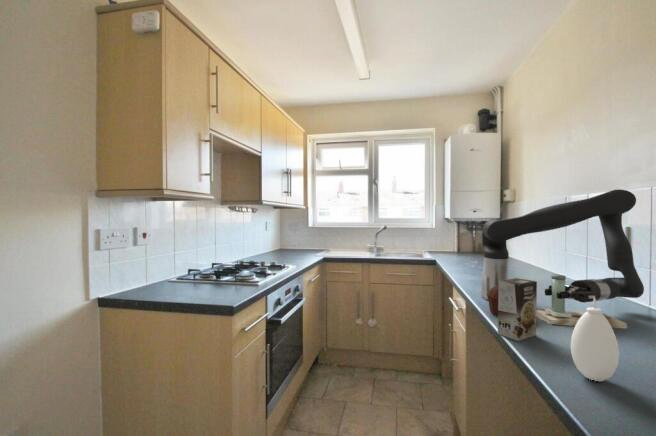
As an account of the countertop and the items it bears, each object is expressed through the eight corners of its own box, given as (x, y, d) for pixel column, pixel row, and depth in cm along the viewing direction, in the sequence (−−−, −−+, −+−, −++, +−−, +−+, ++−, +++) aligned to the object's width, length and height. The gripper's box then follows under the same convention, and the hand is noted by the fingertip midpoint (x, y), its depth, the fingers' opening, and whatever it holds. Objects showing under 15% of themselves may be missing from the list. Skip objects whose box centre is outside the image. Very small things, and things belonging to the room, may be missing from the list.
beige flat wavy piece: (549, 324, 99) (549, 319, 99) (533, 314, 109) (533, 309, 109) (627, 328, 95) (627, 323, 95) (603, 317, 105) (603, 313, 105)
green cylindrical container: (554, 316, 101) (554, 277, 101) (545, 311, 106) (545, 273, 106) (571, 317, 100) (571, 277, 100) (561, 311, 105) (561, 274, 105)
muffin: (531, 319, 104) (532, 289, 104) (502, 321, 102) (502, 291, 102) (506, 308, 116) (506, 282, 115) (479, 310, 114) (479, 283, 114)
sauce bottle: (573, 366, 72) (574, 290, 72) (619, 379, 66) (621, 296, 66) (567, 378, 66) (568, 296, 66) (616, 394, 61) (618, 304, 60)
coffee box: (518, 342, 86) (519, 284, 85) (496, 333, 91) (497, 280, 91) (537, 335, 90) (538, 281, 89) (515, 328, 95) (515, 277, 95)
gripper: (569, 275, 114) (532, 278, 109) (613, 284, 100) (573, 287, 95) (568, 295, 114) (532, 299, 109) (613, 307, 100) (573, 311, 95)
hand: (552, 293), depth 102 cm, fingers closed on green cylindrical container, 3 cm apart
